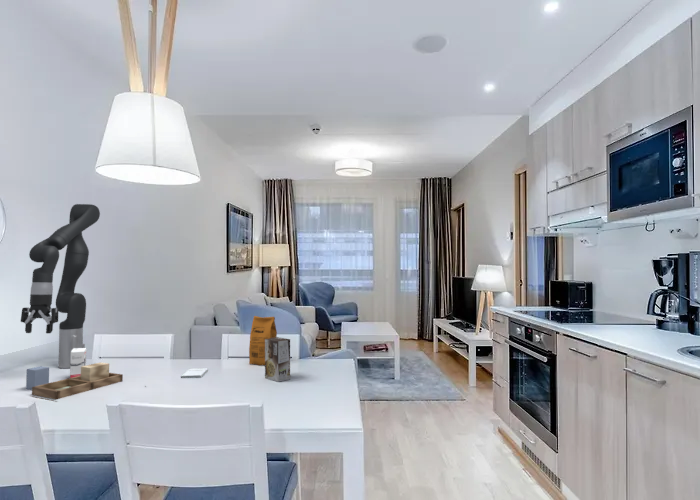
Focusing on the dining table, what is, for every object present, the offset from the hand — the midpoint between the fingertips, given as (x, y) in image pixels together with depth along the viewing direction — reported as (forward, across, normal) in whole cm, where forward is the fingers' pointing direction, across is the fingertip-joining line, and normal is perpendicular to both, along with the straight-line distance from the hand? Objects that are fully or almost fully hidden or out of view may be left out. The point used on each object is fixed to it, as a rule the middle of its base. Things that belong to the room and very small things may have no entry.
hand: (38, 333), depth 184 cm
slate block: (+19, -13, +16) cm, 28 cm away
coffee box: (+17, -99, -4) cm, 100 cm away
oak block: (+18, -31, +10) cm, 37 cm away
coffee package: (+16, -86, -32) cm, 93 cm away
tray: (+19, -29, +15) cm, 38 cm away
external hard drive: (+18, -62, -10) cm, 66 cm away
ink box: (+18, -18, 0) cm, 25 cm away
